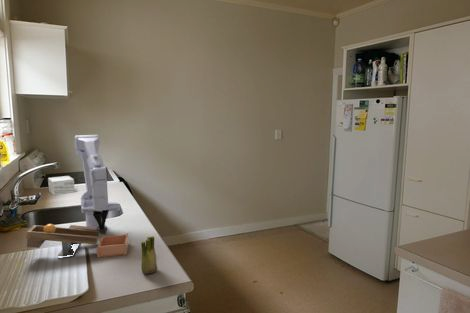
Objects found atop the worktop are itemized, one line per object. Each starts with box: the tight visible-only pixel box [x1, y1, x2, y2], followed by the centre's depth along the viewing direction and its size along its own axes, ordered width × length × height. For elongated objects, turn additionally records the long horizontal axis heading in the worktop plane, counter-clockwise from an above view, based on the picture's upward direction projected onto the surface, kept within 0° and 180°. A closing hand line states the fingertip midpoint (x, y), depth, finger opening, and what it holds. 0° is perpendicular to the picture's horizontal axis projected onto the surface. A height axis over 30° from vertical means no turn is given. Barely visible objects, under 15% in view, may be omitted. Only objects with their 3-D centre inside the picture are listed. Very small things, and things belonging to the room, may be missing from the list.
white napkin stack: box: [47, 175, 76, 196], centre depth 217 cm, size 17×13×9 cm
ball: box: [43, 223, 57, 233], centre depth 117 cm, size 4×4×4 cm
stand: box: [57, 242, 82, 257], centre depth 124 cm, size 15×5×6 cm, turn 14°
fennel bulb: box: [140, 235, 158, 275], centre depth 106 cm, size 6×5×12 cm
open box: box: [96, 232, 130, 259], centre depth 124 cm, size 11×10×4 cm
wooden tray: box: [25, 224, 108, 249], centre depth 123 cm, size 16×25×6 cm, turn 104°
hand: (102, 228), depth 131 cm, fingers closed
